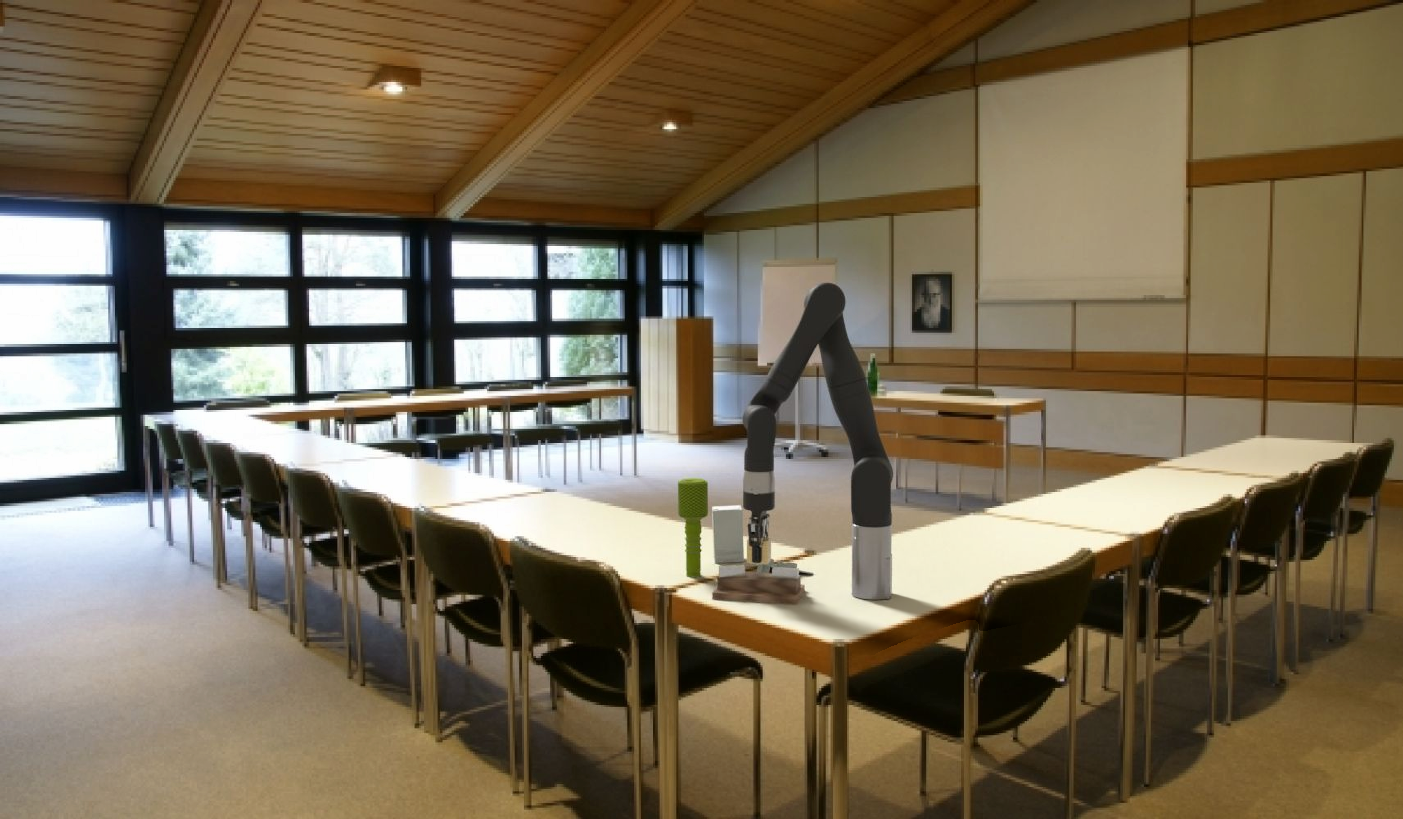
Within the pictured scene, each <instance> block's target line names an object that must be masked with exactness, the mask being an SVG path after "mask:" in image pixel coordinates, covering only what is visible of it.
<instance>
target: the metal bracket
mask: <svg viewBox="0 0 1403 819" xmlns="http://www.w3.org/2000/svg"><path fill="white" fill-rule="evenodd" d="M746 563H747V561H746ZM774 563H775V559H773V558H771V561H770V562H769V563H768V564H756V565H757V569H756V573H770V569H771V568H773V567H784V568H798V563H795V562H789V561H785V562H783V561H782V560H779V559H778V560H777V561H776V564H774ZM747 564H748V563H747ZM750 564H752V565H755V564H754V563H750ZM799 573H803V574H804V573H805V574H810V575H814V572H810V571H806V570H800V569H799Z"/></svg>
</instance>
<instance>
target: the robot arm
mask: <svg viewBox="0 0 1403 819" xmlns="http://www.w3.org/2000/svg"><path fill="white" fill-rule="evenodd" d="M803 307H804V309H803V312H802V315H801V317H800V320H799V322H798V324H797V326H796V328H795V330H794V332H793V334H792V335H791V336H790V338H789V339H788V342H787V343H786V345H785V346H784V347H783V349H782V350H781V352H780V353H779V355H778V357H777V358H776V359H775V361H774V362H773V365H771V368H770V370H769V372H768V374H766V377H765V378H764V381H763V382H762V385H761V386H760V388H759V389H758V391H757V392H756V393H755V395H754V396H753V397H752V398H751V400H750V402H749V403H748V404H747V406H746V407H745V409H744V412H743V413H742V414H743V415H742V424H743V426H744V428H745V429H746V431H747V435H746V436H747V438H746V441H747V443H746V445H747V446H746V448H745V450H744V454H743V456H744V458H743V460H744V461H743V464H744V467H743V468H744V469H743V478H742V509H744V510H746V511H750V512H751V514H750V515H751V516H750V517H749V518H748V524H747V532H748V539H749V546H751V547H752V562H753V563H761V561H762V538H763V537H764V538H765V537H766V538H769V527H770V526H769V525H770V513H767V512H770V511H773V510H774V509H775V507H776V505H775V503H776V497H775V496H776V480H775V479H776V478H775V456H774V450H775V444H776V436H777V417H776V415H777V414H776V413H777V412H778V410H780V407H781V406H782V404H783V403H785V402H787V400H788V399H789V398H790V396H791V395H792V393H793V391H794V389H795V388H796V386H797V384H798V382H799V380H800V379H801V377H802V375H803V374H804V371H805V369H806V367H807V365H808V363H809V361H810V359H811V358H812V355H813V353H814V352H815V350H816V348H817V347H818V348H819V353H820V359H821V363H822V369H823V374H824V378H825V382H826V386H827V390H828V393H829V398H830V401H831V404H832V407H833V410H834V412H835V414H836V417H837V418H838V421H839V423H840V425H841V426H842V428H843V430H844V432H845V435H846V437H847V440H848V442H849V446H850V449H851V450H850V451H851V454H852V459H853V460H852V461H853V465H854V467H853V469H852V472H851V476H850V510H851V517H852V518H851V520H852V522H851V525H852V526H851V595H852V596H854V597H855V598H859V599H863V600H874V601H877V600H884V599H885V600H890V599H891V597H892V593H893V554H892V532H893V530H892V527H893V525H892V524H893V523H892V522H893V521H892V520H893V514H892V482H893V478H894V472H893V470H894V469H893V466H892V464H891V462H890V459H889V456H888V454H887V452H886V449H885V447H884V445H883V442H882V440H881V437H880V433H879V430H878V424H877V420H876V414H875V410H874V404H873V401H872V396H871V392H870V388H869V385H868V382H867V381H868V380H867V377H866V375H865V372H864V369H863V366H862V364H861V362H860V360H859V358H858V355H857V354H856V352H855V350H854V348H853V346H852V344H851V341H850V339H849V336H848V332H847V328H846V322H845V319H844V311H845V309H846V296H845V293H844V291H843V290H842V288H840V286H838V285H837V284H835V283H833V282H822V283H818V284H816V285H814V286H812V288H811V289H810V290H809V291H808V292H807V294H806V295H805V298H804V301H803ZM754 538H756V539H757V541H754Z"/></svg>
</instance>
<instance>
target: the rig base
mask: <svg viewBox="0 0 1403 819" xmlns="http://www.w3.org/2000/svg"><path fill="white" fill-rule="evenodd" d="M801 578H802V575H801V574H799V578H798V580H792V579H776V578H772V572H771V573H770V572H769V573H757V572H753V571H752V572H751V571H749V572H748V571H745V577H720V576H719V575H717V577H716V588H715V589H714V590H713V591H712V593H711V596H712V597H711V598H712V600H723V601H724V600H725V601H737V602H738V601H739V602H740V601H742V602H753V603H755V602H756V603H769V604H771V603H772V604H781V605H782V604H785V605H797V604H798V602H800V599H801V598H802V597H803V595H804V592H805V590H806V589H805V584H802V582H801Z"/></svg>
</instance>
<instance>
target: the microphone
mask: <svg viewBox="0 0 1403 819" xmlns="http://www.w3.org/2000/svg"><path fill="white" fill-rule="evenodd" d="M708 482H709V481H708V480H705V479H702V478H698V477H697V478H695V477H694V478H693V477H692V478H690V477H689V478H682V479H681V480H678V481H677V506H678V507H677V510H678V512H677V513H678V515H677V516H679V518H683V520H685V522H684V523H685V525H684V533H685V535H686V537H684V540H685V547H686V548H685V550H684V551H685V566H686V568H685V569H686V570H685V572H686V574H685V575H686V577H688V578H698V577H701V570H702V569H701V568H702V567H701V559H702V558H701V552H703V551H702V549H701V547H702V544H701V540H702V537H701V534H702V524H701V523H702V522H701V520H702V519H705V518H706V517H707V516H708V513H709V512H708V511H709V508H708V507H709V498H708V497H709V495H708V494H709V491H708V489H709V488H708V485H709V484H708Z"/></svg>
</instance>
